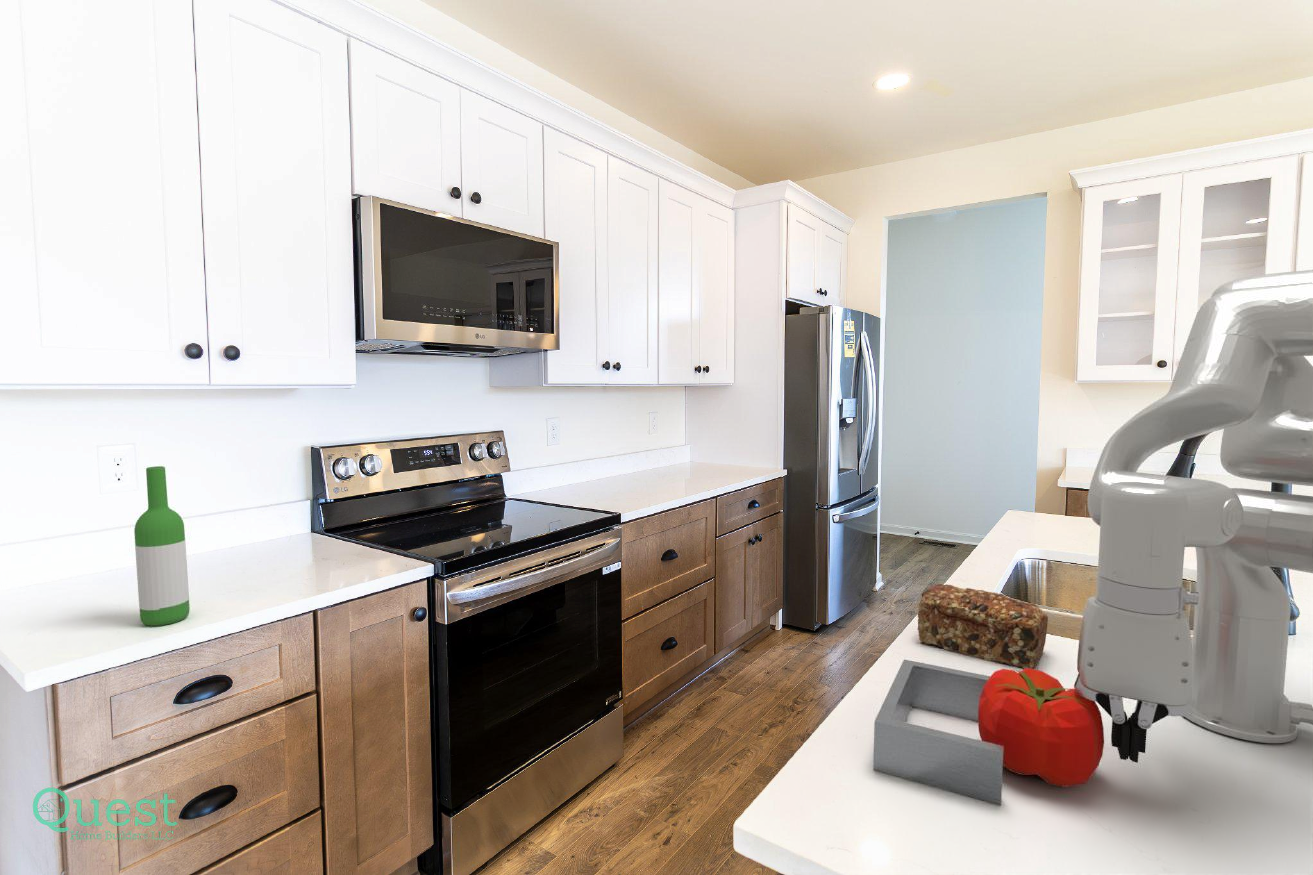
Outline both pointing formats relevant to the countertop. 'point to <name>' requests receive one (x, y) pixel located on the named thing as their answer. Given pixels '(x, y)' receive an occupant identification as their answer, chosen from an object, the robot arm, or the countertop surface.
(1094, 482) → the robot arm
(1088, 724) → the tomato
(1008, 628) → the bread
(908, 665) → the grey u-shaped bracket
